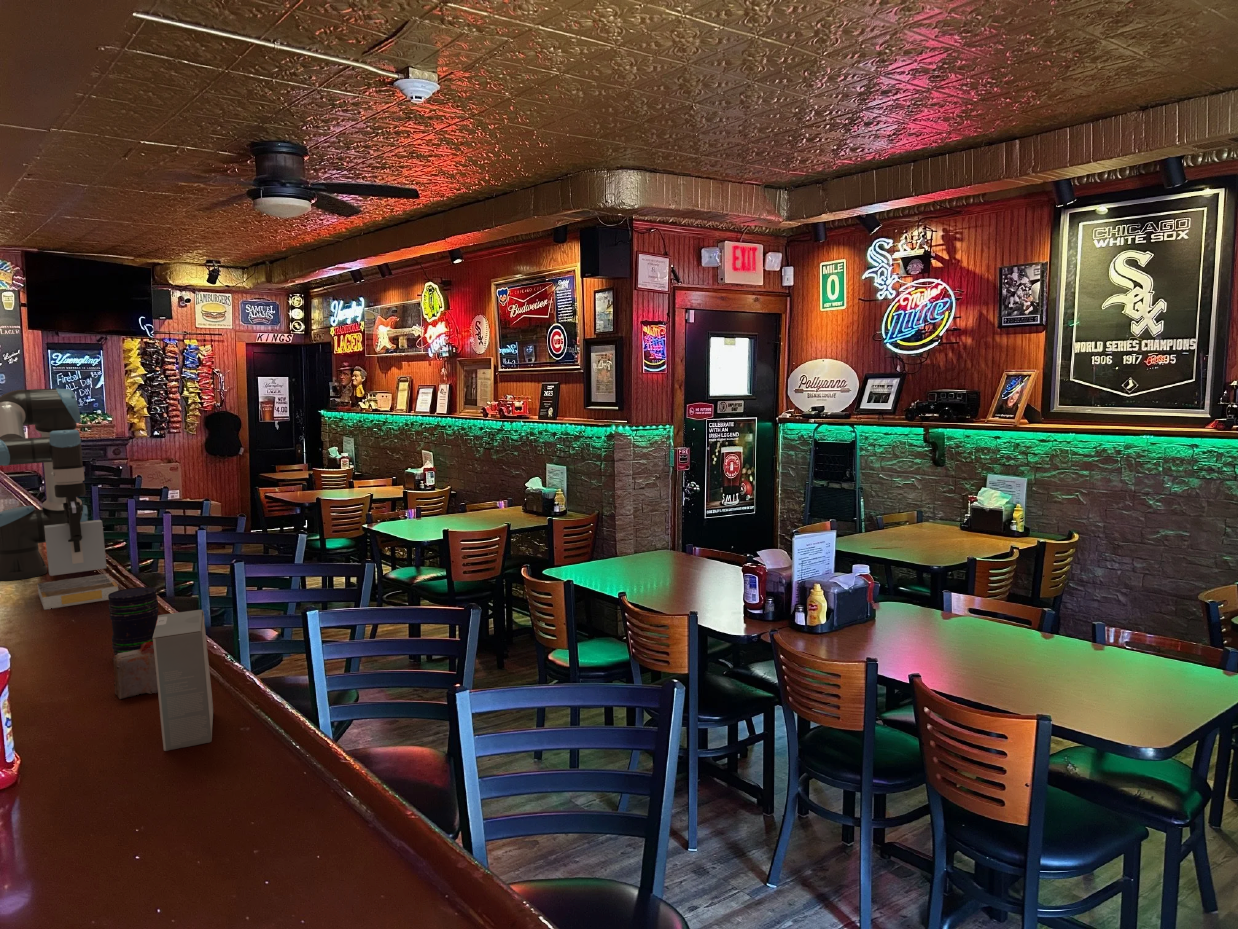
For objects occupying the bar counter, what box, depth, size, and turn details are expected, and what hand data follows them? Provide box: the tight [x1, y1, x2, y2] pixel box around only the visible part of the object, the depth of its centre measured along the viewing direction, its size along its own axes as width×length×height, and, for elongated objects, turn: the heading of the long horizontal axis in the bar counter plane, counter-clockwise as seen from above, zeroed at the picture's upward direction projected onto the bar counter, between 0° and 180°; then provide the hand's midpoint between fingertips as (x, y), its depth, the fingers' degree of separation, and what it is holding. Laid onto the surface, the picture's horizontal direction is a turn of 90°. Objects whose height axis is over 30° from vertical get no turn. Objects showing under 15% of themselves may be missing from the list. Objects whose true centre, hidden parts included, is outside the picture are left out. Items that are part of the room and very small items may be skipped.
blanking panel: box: [44, 519, 107, 577], centre depth 251 cm, size 5×14×14 cm, turn 127°
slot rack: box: [37, 573, 119, 610], centre depth 258 cm, size 24×19×4 cm
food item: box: [112, 641, 158, 700], centre depth 174 cm, size 14×8×10 cm, turn 127°
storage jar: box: [108, 586, 160, 656], centre depth 196 cm, size 10×10×15 cm
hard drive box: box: [153, 609, 214, 752], centre depth 150 cm, size 16×8×20 cm, turn 25°
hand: (77, 561), depth 251 cm, fingers closed on blanking panel, 5 cm apart
